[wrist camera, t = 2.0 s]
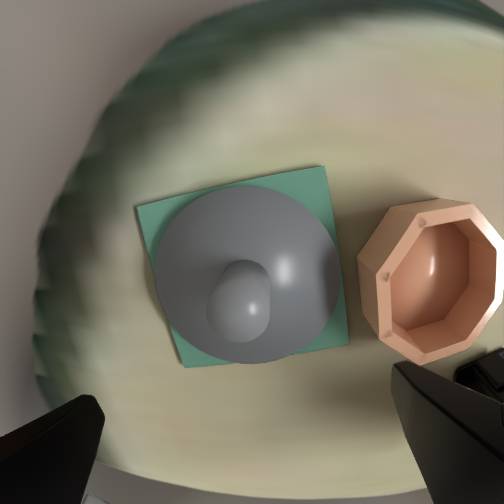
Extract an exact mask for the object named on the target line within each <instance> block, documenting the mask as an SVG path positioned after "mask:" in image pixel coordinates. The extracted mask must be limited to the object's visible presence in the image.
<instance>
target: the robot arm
mask: <svg viewBox="0 0 504 504" xmlns="http://www.w3.org/2000/svg"><path fill="white" fill-rule="evenodd" d="M460 372H461V373H460ZM391 392H392V396H393V399H394V402H395V405H396V408H397V411H398V414H399V418H400V421H401V424H402V427H403V431H404V434H405V437H406V439H407V442H408V444H409V446H410V448H411V451H412V453H413V455H414V457H415V460H416V462H417V464H418V467H419V469H420V471H421V474H422V476H423V478H424V481H425V483H426V486H427V488H428V490H429V493H430V495H431V498H432V500H433V503H434V504H504V348H503V349H501V350H499V351H496V352H494V353H492V354H490V355H488V356H485V357H483V358H481V359H479V360H476V361H474V362H471V363H469V364H467V365H464V366H462V367H459V368H458V369H457V370H456V372H455V376H454V381H451V380H449V379H447V378H444V377H442V376H440V375H438V374H436V373H434V372H431V371H429V370H427V369H425V368H423V367H421V366H418V365H416V364H414V363H412V362H410V361H407V360H405V361H401V362H398V363H395V364H394V365H393V367H392V379H391ZM104 422H105V415H104V413H103V411H102V409H101V407H100V406H99V404H98V402H97V400H96V398H95V397H94V396H92V395H85V394H84V395H80V396H78V397H77V398H75V399H73V400H71V401H69V402H67V403H65V404H64V405H62V406H60V407H58V408H56V409H54V410H52V411H51V412H49V413H47V414H45V415H43V416H41V417H39V418H37V419H35V420H33V421H31V422H29V423H28V424H26V425H24V426H22V427H20V428H18V429H16V430H14V431H12V432H10V433H8V434H6V435H4V436H2V437H0V504H81V501H82V498H83V495H84V491H85V488H86V485H87V482H88V479H89V476H90V473H91V470H92V467H93V464H94V461H95V458H96V455H97V451H98V446H99V442H100V438H101V434H102V430H103V426H104Z"/></svg>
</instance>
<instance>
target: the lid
mask: <svg viewBox="0 0 504 504" xmlns="http://www.w3.org/2000/svg"><path fill="white" fill-rule="evenodd" d="M340 281H341V273H340V263H339V258H338V254H337V251H336V248H335V245H334V243H333V241H332V239H331V237H330V235H329V233H328V231H327V230H326V228H325V227H324V226H323V224H322V223H321V221H320V220H319V219H318V218H317V217H316V216H315V215H314V214H313V213H312V212H311V211H310V210H309V209H307V208H306V207H305V206H304V205H302V204H301V203H300V202H298V201H297V200H295V199H293V198H291V197H290V196H288V195H285V194H283V193H281V192H278V191H275V190H272V189H268V188H264V187H256V186H236V187H230V188H224V189H220V190H217V191H214V192H211V193H208V194H206V195H204V196H202V197H200V198H198V199H197V200H195V201H193V202H192V203H190V204H189V205H188V206H187V207H185V208H184V209H183V210H182V211H181V212H180V213H179V214H178V215H177V216H176V217H175V218H174V220H173V221H172V222H171V223H170V225H169V226H168V228H167V230H166V231H165V233H164V235H163V237H162V239H161V242H160V244H159V248H158V251H157V255H156V261H155V285H156V290H157V294H158V298H159V301H160V304H161V306H162V309H163V311H164V313H165V315H166V316H167V318H168V320H169V321H170V323H171V324H172V325H173V327H174V328H175V329H176V330H177V332H178V333H179V334H180V335H181V336H182V337H183V338H184V339H186V340H187V341H188V342H189V343H190V344H192V345H193V346H194V347H196V348H197V349H199V350H201V351H203V352H204V353H206V354H208V355H210V356H213V357H216V358H218V359H221V360H225V361H229V362H234V363H241V364H257V363H266V362H271V361H275V360H278V359H281V358H284V357H287V356H289V355H291V354H293V353H295V352H297V351H298V350H300V349H302V348H303V347H305V346H306V345H307V344H308V343H310V342H311V341H312V340H313V339H314V338H315V337H316V336H317V335H318V334H319V333H320V332H321V331H322V329H323V328H324V327H325V325H326V324H327V322H328V321H329V319H330V317H331V315H332V313H333V311H334V309H335V306H336V303H337V300H338V296H339V291H340Z"/></svg>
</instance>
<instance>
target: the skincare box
mask: <svg viewBox="0 0 504 504" xmlns="http://www.w3.org/2000/svg"><path fill="white" fill-rule="evenodd" d="M82 504H109V503H107V502H105V501H104V500H102V499H100V498H98V497H97V496H95V495H94V494H92V493H90V492H89V493H88V494H87V495H86V497H85V498H84V501H83V503H82Z"/></svg>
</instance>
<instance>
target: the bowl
mask: <svg viewBox="0 0 504 504" xmlns="http://www.w3.org/2000/svg"><path fill="white" fill-rule="evenodd" d="M357 265H358V275H359V284H360V295H361V307H362V313H363V315H364V316H365V318H366V319H367V321H368V322H369V324H370V326H371V327H372V329H373V330H374V332H375V334H376V335H377V337H378V338H379V340H381V341H382V342H384V343H385V344H387V345H388V346H390V347H392V348H393V349H395V350H396V351H398V352H399V353H401V354H402V355H404V356H405V357H407V358H409V359H410V360H412V361H413V362H415V363H416V364H418V365H419V366H420V365H423V364H426V363H429V362H432V361H435V360H438V359H441V358H444V357H447V356H449V355H452V354H455V353H457V352H460V351H463V350H465V349H468V348H469V347H470V346H471V344H472V343H473V342H474V340H475V339H476V338H477V336H478V335H479V333H480V332H481V331H482V329H483V328H484V327H485V325H486V324H487V322H488V321H489V319H490V318H491V316H492V315H493V313H494V312H495V310H496V309H497V307H498V306H499V304H500V303H501V301H502V294H503V282H504V241H503V240H502V238H501V237H500V236H499V235H498V233H497V232H496V231H495V230H494V228H493V227H492V226H491V225H490V223H489V222H488V221H487V220H486V219H485V217H484V216H483V215H482V214H481V213H480V212H479V210H478V209H477V208H476V207H475V206H474V205H473V204H472V203H466V202H460V201H454V200H448V199H441V198H440V199H434V200H428V201H421V202H415V203H410V204H404V205H398V206H392V207H390V208H389V210H388V211H387V213H386V215H385V216H384V218H383V219H382V221H381V222H380V224H379V225H378V226H377V228H376V229H375V231H374V232H373V234H372V235H371V237H370V238H369V240H368V241H367V243H366V244H365V245H364V247H363V248H362V250H361V251H360V252H359V254H358V255H357Z"/></svg>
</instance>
